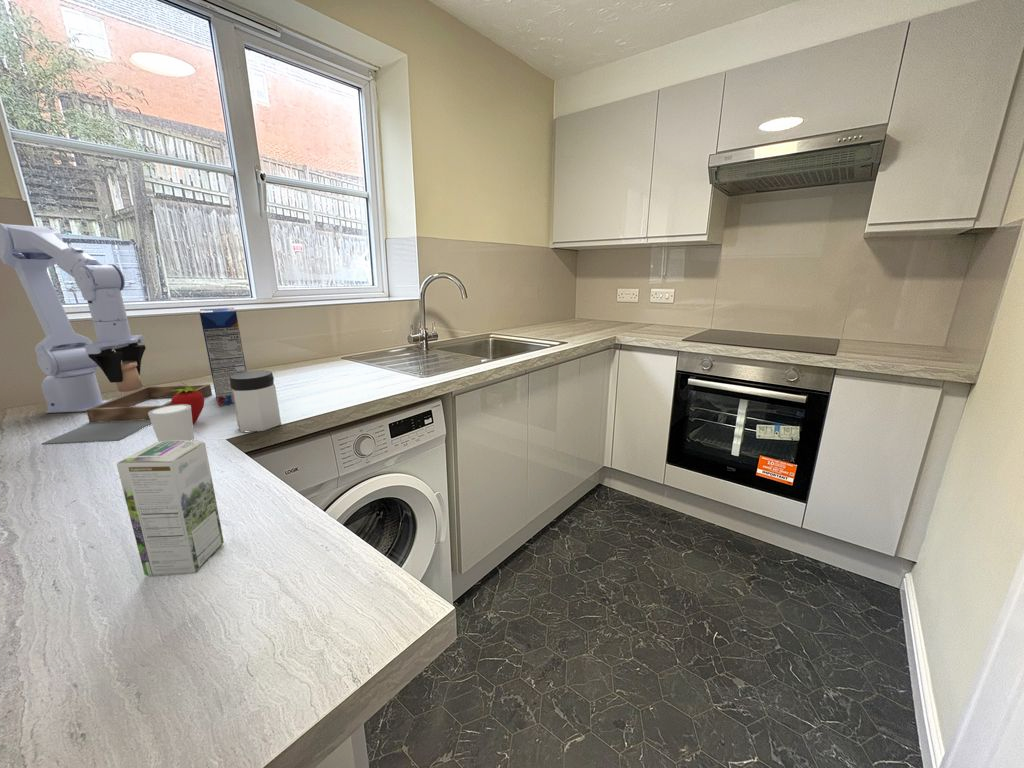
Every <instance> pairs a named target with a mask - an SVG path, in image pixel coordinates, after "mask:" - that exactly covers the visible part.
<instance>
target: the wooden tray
mask: <svg viewBox="0 0 1024 768" xmlns="http://www.w3.org/2000/svg"><path fill="white" fill-rule="evenodd" d="M186 385H187V387H191V388H198V389H195V390H196V391H199V392H200V393H202V394H203V397H204V398H205V399H206V397H207V398H208V397H210V396H212V395H213V392H212V387H211V384H208V383H207V384H186ZM186 385H185V384H181V385H153V386H143V387H142V388H140V389H137V390H133V391H130V392H128V393H126V394H124V395H121V396H118V397H116V398H114V399H113V398H112V399H111V400H110V401H108V402H105V403H103V404H100V405H97V406H95V407H92V408H89V409H87V410H86V411H85V412H86V416H87V419H88V421H89V423H92V422H91V421H103V422H115V421H124V420H126V421H138V420H142V419H148V420H150V418H149V415H148V412H149V411H151V410H153V409H156V408H160V407H164V406H170V405H172V404H171V400H170V401H168V402H166V403H164V404H162V405H143V406H139V405H138V404H140V403H141V402H144V401H146V400H149V399H153V398H154V399H155V398H156V399H157V398H172V397H173V396H174V395H175V394H177V393H178V392H179V391H171V390H177V389H185V388H186ZM135 405H138V406H135Z"/></svg>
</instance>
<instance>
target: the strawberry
mask: <svg viewBox="0 0 1024 768" xmlns="http://www.w3.org/2000/svg"><path fill="white" fill-rule="evenodd" d="M180 383H182V385H186V388H185V389H177V390H171V391H179V392H178V393H177V394H175V395H174V396H173V397H171V400H170V401H171V404H172V405H179V404H186V405H191V412H192V422H193V424H195V423H197V421H198V419H199V417H200V416H201V414H202V412H203V408H204V405H205V399H204V397H203V394H202V393H200V392H199V391H196V390H195V389H198V388H191V387H187V385H188V384H185V383H184V382H182V381H180Z"/></svg>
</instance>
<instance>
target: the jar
mask: <svg viewBox="0 0 1024 768" xmlns="http://www.w3.org/2000/svg"><path fill="white" fill-rule="evenodd" d="M229 379H230V385H231V391H232V396H233V402H234V404H233V406H234V411H235V416H236V422H237V427H238V429H239V431H240V432H241V433H246V432H245V431H257V432H265V431H268V430H270V429H273V428H275V427H278V426H280V425H282V421H281V414H280V407H279V401H278V395H277V389H276V384H275V382H274V381H275V380H274V379H275V378H274V375H273V372H272V371H270V370H266V369H265V370H264V369H263V370H262V369H261V370H260V369H257V370H248V371H247V370H246V372H240V373H236V374H233V375H231V376H230V377H229ZM257 432H256V433H257Z"/></svg>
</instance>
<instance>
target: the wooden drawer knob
mask: <svg viewBox="0 0 1024 768" xmlns="http://www.w3.org/2000/svg"><path fill="white" fill-rule="evenodd" d="M136 366H138V364H137V362H136V361H122V360H121V370H122V376H123V380H122V382H114V383H115V385H116V388H117V390H118V392H121V393H127V392H128V393H129V392H134V391H136V390H139V389H142V388H144V384H143V383H142V379H141V376H139V374H138V371H137V368H136Z"/></svg>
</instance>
